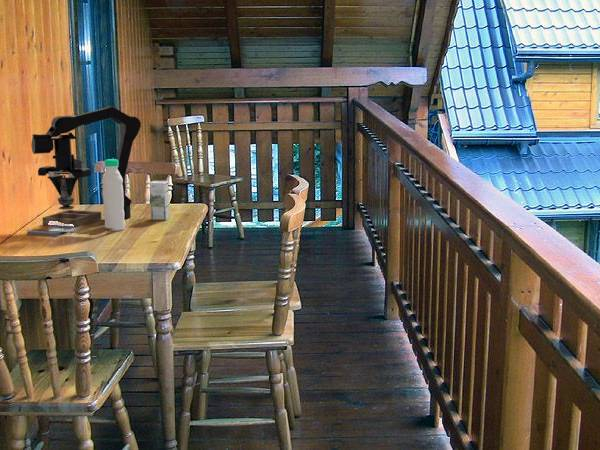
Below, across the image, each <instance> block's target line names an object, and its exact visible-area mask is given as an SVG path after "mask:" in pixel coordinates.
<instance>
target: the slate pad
mask: <svg viewBox="0 0 600 450" xmlns="http://www.w3.org/2000/svg"><path fill="white" fill-rule="evenodd" d="M67 232H68V231H58V230H57V231H55V230H43V229H31V230H28V231H26V234H27V235H31V236H42V237H43V236H45V237H59V236H62V235H65V233H66V234H68V233H67Z"/></svg>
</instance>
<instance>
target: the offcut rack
mask: <svg viewBox="0 0 600 450" xmlns="http://www.w3.org/2000/svg"><path fill="white" fill-rule="evenodd" d="M89 214H90V215H89ZM41 220H42V226H48V223H49V221H58V222H61V223H64V224H73V225H74V227H75V228H79V227H83V226H86V225H88V224H92V223H95V222H97V221H101V220H102V211H95V210H94V211H92V210H77V209H76V210H75V209H66V210H64V211H59V212H57V213H54V214H53V213H52V214H51V215H50V214H49V215H46V216H43V217H42V219H41ZM48 227H49V226H48Z"/></svg>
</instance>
